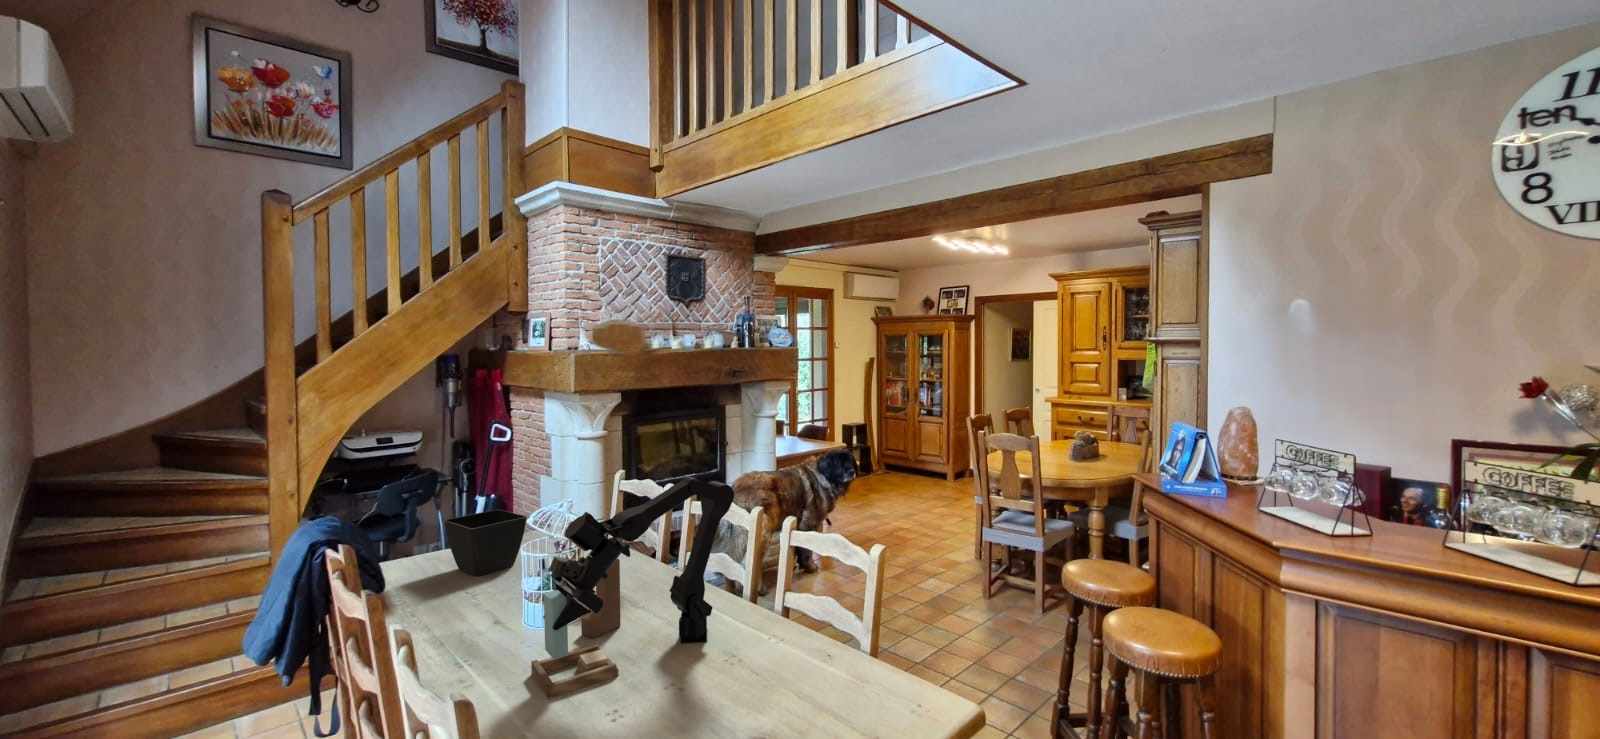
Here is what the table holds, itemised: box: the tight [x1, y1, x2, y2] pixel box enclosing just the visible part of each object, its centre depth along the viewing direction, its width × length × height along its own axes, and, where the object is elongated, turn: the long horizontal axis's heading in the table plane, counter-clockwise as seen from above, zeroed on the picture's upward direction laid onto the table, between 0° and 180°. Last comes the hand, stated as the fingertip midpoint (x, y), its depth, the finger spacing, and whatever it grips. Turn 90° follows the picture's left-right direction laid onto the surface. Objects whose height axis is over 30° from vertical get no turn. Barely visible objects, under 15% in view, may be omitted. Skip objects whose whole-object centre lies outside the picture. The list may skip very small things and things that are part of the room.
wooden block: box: [580, 557, 622, 640], centre depth 159 cm, size 9×4×18 cm, turn 144°
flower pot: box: [443, 509, 528, 577], centre depth 207 cm, size 19×19×17 cm
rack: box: [530, 643, 619, 700], centre depth 138 cm, size 15×12×3 cm
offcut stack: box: [577, 649, 609, 674], centre depth 140 cm, size 5×6×3 cm
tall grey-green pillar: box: [543, 590, 569, 660], centre depth 134 cm, size 3×6×12 cm, turn 39°
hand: (549, 624), depth 133 cm, fingers closed on tall grey-green pillar, 6 cm apart
